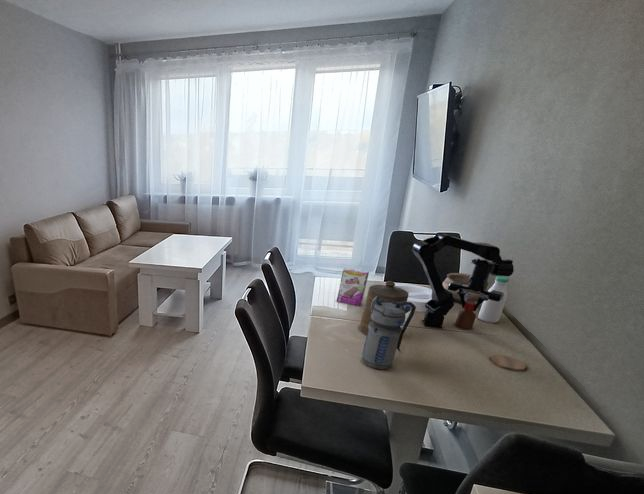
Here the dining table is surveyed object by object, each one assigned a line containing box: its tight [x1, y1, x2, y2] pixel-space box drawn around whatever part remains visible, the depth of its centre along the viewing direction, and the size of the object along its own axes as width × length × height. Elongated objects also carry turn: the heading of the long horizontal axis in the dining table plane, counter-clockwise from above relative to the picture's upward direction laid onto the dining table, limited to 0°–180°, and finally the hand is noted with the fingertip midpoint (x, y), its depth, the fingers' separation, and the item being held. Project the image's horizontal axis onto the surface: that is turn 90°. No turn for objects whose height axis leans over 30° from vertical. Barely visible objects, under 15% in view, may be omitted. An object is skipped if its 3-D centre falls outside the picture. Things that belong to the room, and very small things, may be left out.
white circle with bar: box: [383, 282, 432, 313], centre depth 205 cm, size 28×28×5 cm
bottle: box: [454, 309, 477, 331], centre depth 177 cm, size 6×6×10 cm
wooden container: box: [359, 280, 409, 335], centre depth 168 cm, size 15×15×22 cm
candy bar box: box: [336, 267, 370, 307], centre depth 199 cm, size 11×5×16 cm, turn 58°
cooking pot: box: [442, 272, 490, 305], centre depth 205 cm, size 25×19×12 cm
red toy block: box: [462, 301, 477, 312], centre depth 175 cm, size 4×4×3 cm
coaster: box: [490, 354, 527, 372], centre depth 149 cm, size 10×10×1 cm
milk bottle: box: [477, 276, 510, 324], centre depth 183 cm, size 8×8×20 cm
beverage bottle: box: [361, 296, 416, 370], centre depth 142 cm, size 10×13×25 cm
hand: (468, 309), depth 176 cm, fingers closed on red toy block, 4 cm apart
